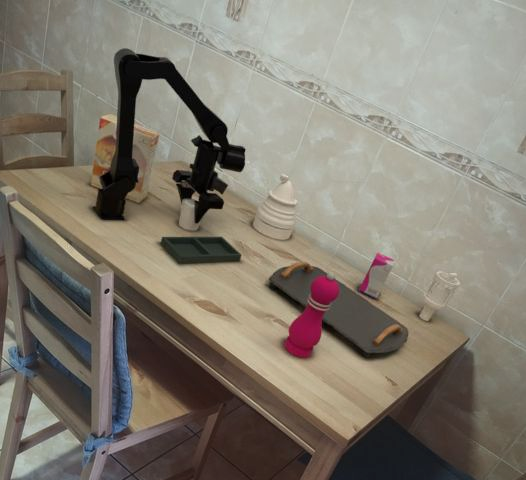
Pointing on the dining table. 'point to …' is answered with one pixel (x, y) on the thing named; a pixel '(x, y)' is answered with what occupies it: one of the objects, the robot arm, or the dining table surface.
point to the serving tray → (344, 310)
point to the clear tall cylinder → (438, 293)
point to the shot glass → (188, 215)
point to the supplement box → (377, 275)
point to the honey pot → (277, 211)
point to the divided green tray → (200, 249)
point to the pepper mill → (312, 316)
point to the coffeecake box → (141, 153)
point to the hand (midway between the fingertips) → (190, 217)
